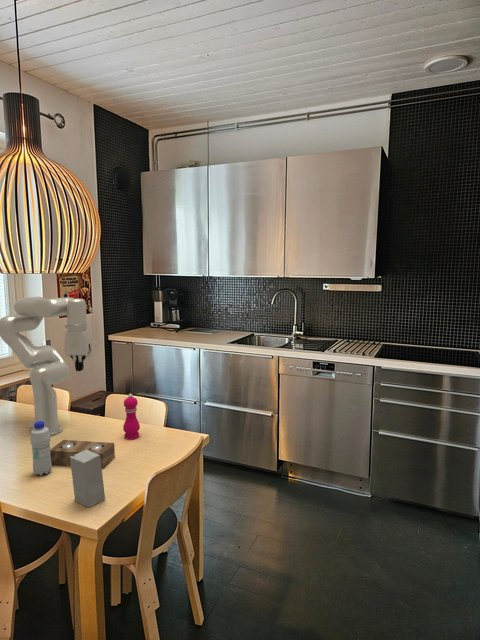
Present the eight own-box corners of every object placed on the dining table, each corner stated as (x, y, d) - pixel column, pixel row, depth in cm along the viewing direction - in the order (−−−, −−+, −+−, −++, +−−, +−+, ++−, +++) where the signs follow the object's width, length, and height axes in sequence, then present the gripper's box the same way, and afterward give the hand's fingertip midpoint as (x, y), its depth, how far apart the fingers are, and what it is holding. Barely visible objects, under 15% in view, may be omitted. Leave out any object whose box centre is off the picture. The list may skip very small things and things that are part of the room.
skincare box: (105, 500, 138) (103, 454, 136) (86, 510, 132) (83, 462, 130) (90, 491, 143) (88, 447, 141) (71, 500, 138) (68, 455, 136)
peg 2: (90, 463, 163) (89, 448, 162) (94, 458, 167) (94, 444, 166) (99, 463, 162) (99, 449, 162) (104, 459, 166) (103, 444, 166)
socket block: (49, 465, 162) (48, 450, 161) (64, 453, 172) (63, 439, 171) (103, 468, 159) (102, 453, 158) (114, 457, 169) (114, 442, 168)
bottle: (39, 479, 152) (36, 426, 149) (29, 474, 155) (25, 422, 152) (56, 471, 157) (53, 420, 155) (45, 466, 161) (42, 416, 158)
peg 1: (61, 461, 165) (60, 446, 164) (66, 456, 169) (65, 442, 168) (70, 461, 164) (69, 447, 163) (76, 457, 168) (75, 442, 167)
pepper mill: (142, 434, 192) (140, 391, 189) (136, 440, 185) (135, 396, 182) (127, 433, 193) (125, 391, 190) (121, 439, 186) (119, 396, 183)
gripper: (55, 329, 174) (58, 372, 177) (89, 329, 172) (91, 373, 175) (65, 326, 182) (68, 367, 184) (98, 327, 180) (100, 368, 182)
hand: (79, 370), depth 179 cm, fingers closed
